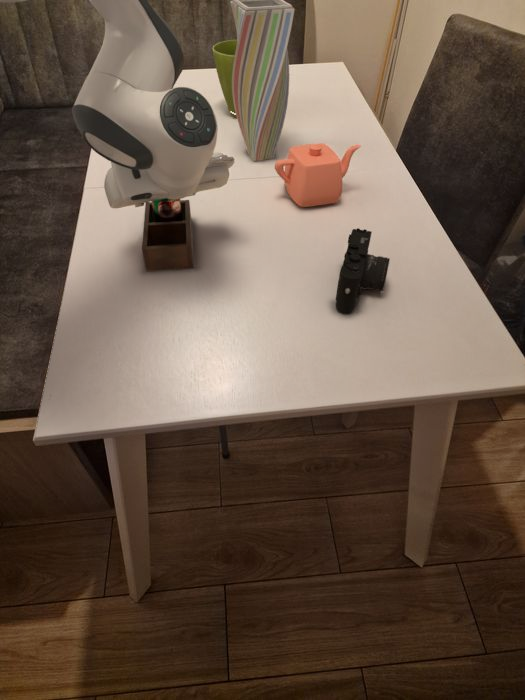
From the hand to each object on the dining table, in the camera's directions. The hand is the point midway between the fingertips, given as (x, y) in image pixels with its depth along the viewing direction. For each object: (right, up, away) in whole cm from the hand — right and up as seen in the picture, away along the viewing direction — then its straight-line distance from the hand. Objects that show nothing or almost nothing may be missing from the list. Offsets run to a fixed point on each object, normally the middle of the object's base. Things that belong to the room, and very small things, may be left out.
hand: (164, 197), depth 86 cm
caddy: (+1, -8, +2) cm, 8 cm away
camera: (+34, -18, -6) cm, 38 cm away
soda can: (0, -5, +4) cm, 7 cm away
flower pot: (+12, +37, +46) cm, 60 cm away
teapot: (+29, +5, +16) cm, 33 cm away
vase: (+17, +19, +28) cm, 38 cm away
